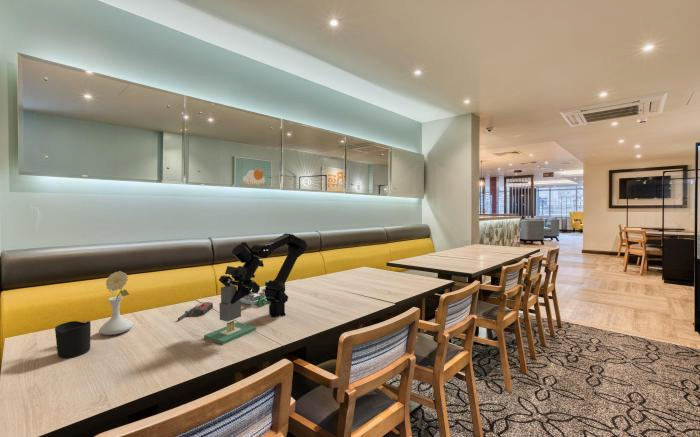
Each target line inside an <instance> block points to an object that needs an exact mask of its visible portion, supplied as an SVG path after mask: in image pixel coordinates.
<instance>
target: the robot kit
mask: <svg viewBox="0 0 700 437" xmlns="http://www.w3.org/2000/svg"><path fill="white" fill-rule="evenodd" d="M269 281H270V280H266V281H264V286H265V287H266V286H267V284H268V282H269ZM265 287H264V288H262V289H261V292H258V294H257V293H253V292H252V290H251V291H250V292H251V294H248V295H246V296H244V297H243V298H241V299H240V300H241V304H242V303H243V304H248V305H252V306H255V305H258V306H259V307H265V306H266V303H269V304H270V301H267V299H266V296H265V289H266V288H265Z"/></svg>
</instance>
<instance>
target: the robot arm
mask: <svg viewBox="0 0 700 437" xmlns="http://www.w3.org/2000/svg"><path fill="white" fill-rule="evenodd" d="M285 245H286V246H287V251H288V252H287V253H288V254H287V255H286V257H285V260H284V262H283V263H282V265H281V267H280V269H279V271H278V272H277V274H276V277H275V279H273V280H271V279H270V280H268V281H269V282H268V284H267V286H265V287H264V289H265V288H266V289H265V292H264V293H265V296H266V299H267V301H270V303H269V304H268V314H269V315H270V317H271V318H276V317H283V316H286V312H285V311H286V310H285V308H286V307H285V306H286V305H285V304H286V303H288V300H289V296H288V295H287V294H286V281H287V280H288V278H289V276H290V274H291V272H292V270H293V267H294V265H295V264H296V262H297V259H298V258H299V257H300V256H302V255H303V254H304V253H305V251H306V250H307V247H308V246H307V241H306V240H304V239H302V238H300V237H297V236H296V235H295V234H293V233H287V232H286V233H283V234H282V235H280V236H278V237H276V238H273V239H271V240H269V241H266V242H260V243H255V244H253V245H252V246H251V247H250V246H249V245H248V243H247V242H244V241H242V242H241V243H240V244H237V245H236V246H235V247H233V249H232V252H231V253H232V255H233V256H234V257H235V258H236V259H237V260H238V262H240V263H241V264H242V265H238V266H237V267H235V266H230V265H228V266H227V267H226V269H225V272H224V274H225V275H221V276H220V277H219V279H218V281H219V282H220V283H221V284H222V285H223V286H224V287H225V286H228V285H230V286H236V287H237V291H236V293H235V295H234V297H233V298H232V300H231V304H234V303H235V302H237V301H238V300H240V299H241V298H243V297H244V296H246V295H248V294H251V292H250V291H252V292H253V293H257V294H258V293H260V290H261V287H260V285H259V284H258V283H257V282H256V281H255V280H253V279H255V277H256V275H255V273H256V272H257V270H258V269H259V267H260V268H264V260H261V259H267V258H268V257H269V256H271V255H272V254H273V252H274V251H275V250H277V249H279V248H281V247H284V246H285Z"/></svg>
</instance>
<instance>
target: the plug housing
mask: <svg viewBox="0 0 700 437" xmlns="http://www.w3.org/2000/svg"><path fill="white" fill-rule="evenodd" d="M237 289H238V286H236V285H235V286H230V285H228V286H225V285H224V286H221V287H220V302H219V320H220V321H222V322H226V323H229V322H232V321H234V320H236V319H239V318H241V317H242V302H241V300H238V301H237V302H235V303H234V304H231V300H232V298H233V297H234V295H235V293H236V291H237Z"/></svg>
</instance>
